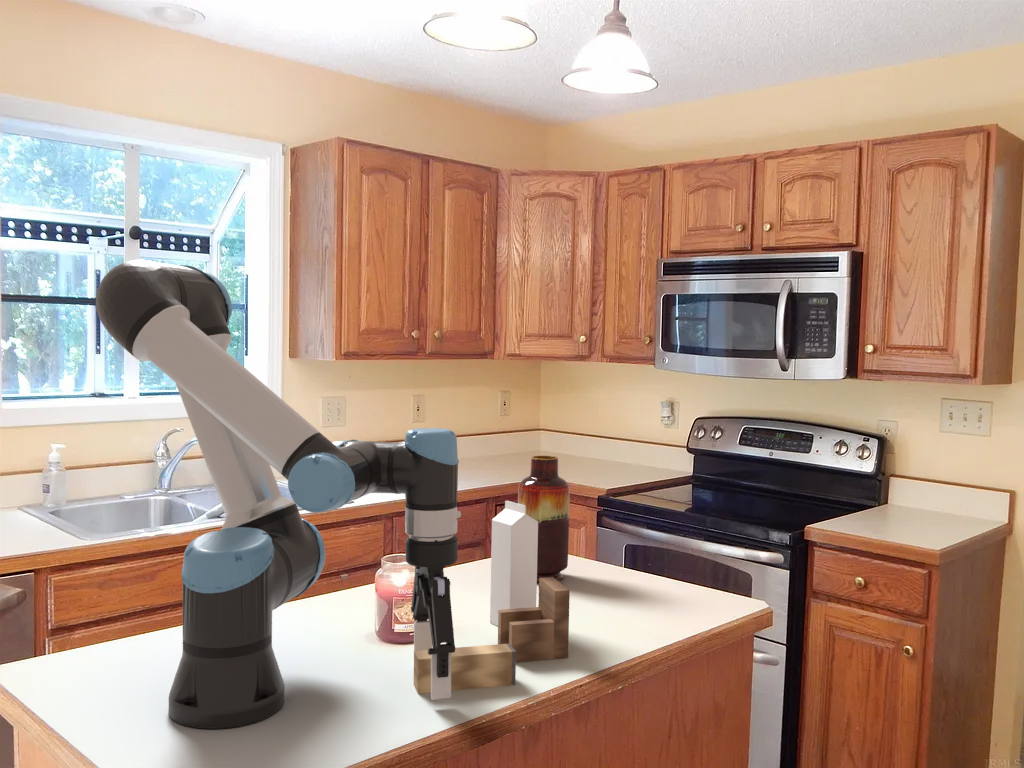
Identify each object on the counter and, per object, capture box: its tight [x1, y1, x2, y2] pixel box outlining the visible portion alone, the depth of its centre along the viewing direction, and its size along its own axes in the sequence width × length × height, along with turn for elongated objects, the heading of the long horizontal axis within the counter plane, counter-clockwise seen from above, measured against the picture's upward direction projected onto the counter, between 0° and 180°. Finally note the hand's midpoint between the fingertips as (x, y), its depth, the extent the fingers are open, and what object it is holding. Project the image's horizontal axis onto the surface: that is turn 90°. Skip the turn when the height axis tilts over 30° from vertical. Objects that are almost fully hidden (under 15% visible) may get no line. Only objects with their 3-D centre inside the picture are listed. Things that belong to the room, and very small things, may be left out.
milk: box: [489, 500, 538, 627], centre depth 158 cm, size 6×6×22 cm
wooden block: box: [413, 643, 517, 695], centre depth 130 cm, size 15×4×5 cm, turn 106°
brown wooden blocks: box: [497, 577, 571, 663], centre depth 145 cm, size 10×8×11 cm
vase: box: [517, 455, 571, 582], centre depth 190 cm, size 11×11×26 cm
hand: (431, 680), depth 129 cm, fingers open, 13 cm apart
